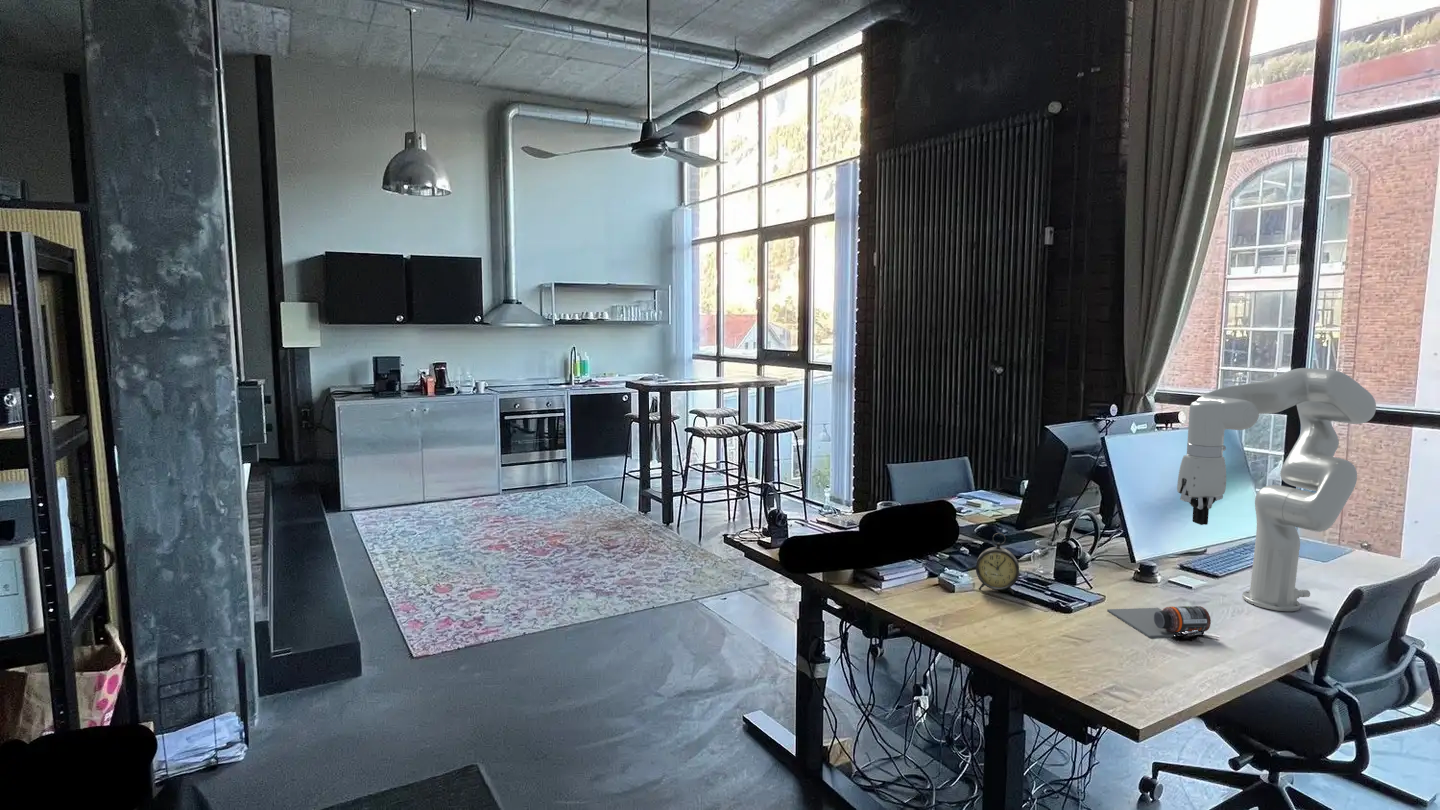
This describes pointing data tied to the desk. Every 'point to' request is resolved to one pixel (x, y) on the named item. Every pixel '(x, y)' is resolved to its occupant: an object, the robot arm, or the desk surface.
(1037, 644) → the desk surface
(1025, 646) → the desk surface
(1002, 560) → the alarm clock
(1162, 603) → the desk surface
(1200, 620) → the supplement bottle
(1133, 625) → the rubber mat
